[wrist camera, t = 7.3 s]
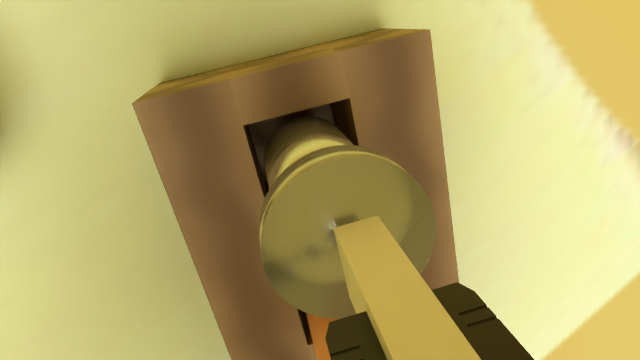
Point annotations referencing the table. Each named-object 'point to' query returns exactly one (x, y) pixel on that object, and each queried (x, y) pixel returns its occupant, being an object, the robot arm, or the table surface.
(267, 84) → the brown wooden block
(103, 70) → the table surface
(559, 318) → the table surface
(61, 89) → the table surface
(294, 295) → the plunger
